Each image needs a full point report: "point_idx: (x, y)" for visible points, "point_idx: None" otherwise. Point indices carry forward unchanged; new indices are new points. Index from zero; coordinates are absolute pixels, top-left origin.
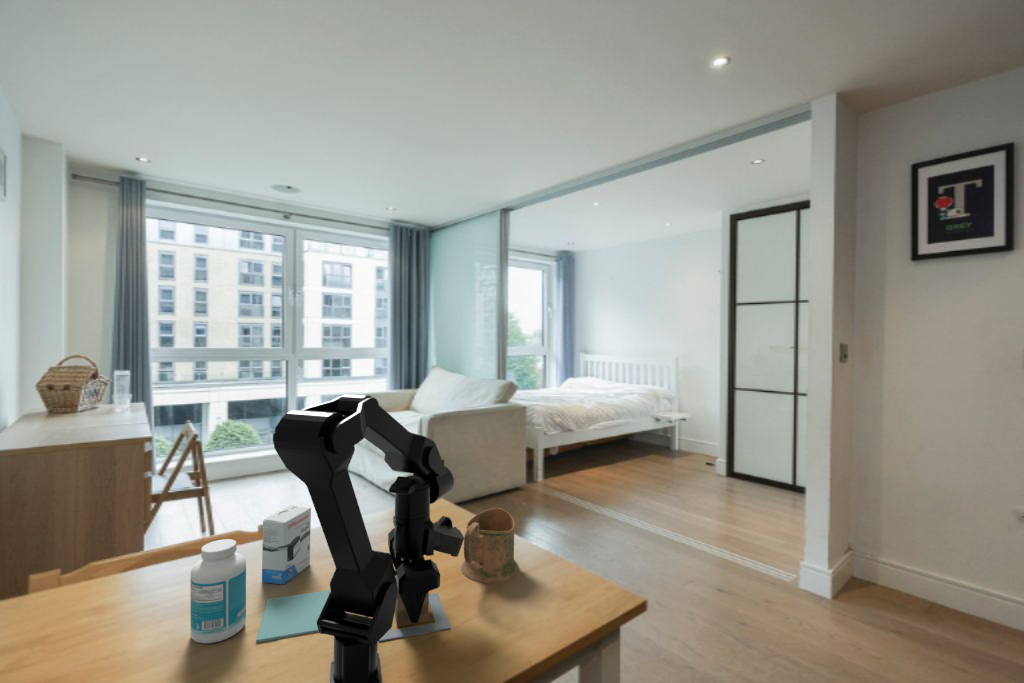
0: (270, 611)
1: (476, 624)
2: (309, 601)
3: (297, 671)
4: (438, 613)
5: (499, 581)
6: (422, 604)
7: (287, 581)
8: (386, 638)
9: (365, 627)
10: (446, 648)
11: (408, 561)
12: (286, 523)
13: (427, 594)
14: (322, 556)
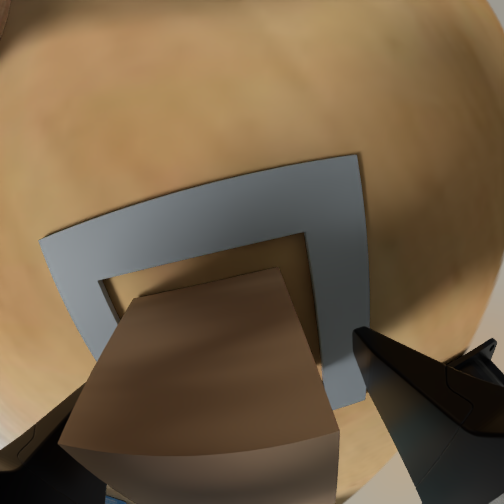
0: None
1: (318, 30)
2: None
3: (387, 457)
4: (219, 220)
5: (8, 4)
6: (444, 367)
7: (116, 499)
8: (363, 386)
9: None
10: (453, 183)
11: (50, 499)
12: None
13: (313, 369)
14: None
